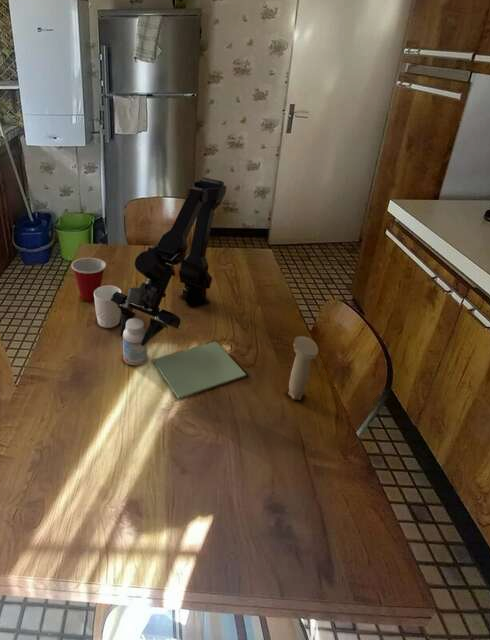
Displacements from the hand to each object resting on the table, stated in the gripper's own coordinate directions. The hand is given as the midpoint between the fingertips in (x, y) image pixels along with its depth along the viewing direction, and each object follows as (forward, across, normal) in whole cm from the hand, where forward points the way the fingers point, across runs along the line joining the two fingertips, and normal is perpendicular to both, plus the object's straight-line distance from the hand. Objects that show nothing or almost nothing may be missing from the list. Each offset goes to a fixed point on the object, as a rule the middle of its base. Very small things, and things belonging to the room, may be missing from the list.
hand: (131, 341), depth 110 cm
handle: (-4, +39, +13) cm, 41 cm away
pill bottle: (+4, 0, +6) cm, 7 cm away
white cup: (-2, -16, +12) cm, 20 cm away
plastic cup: (-8, -29, +17) cm, 34 cm away
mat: (0, +16, +10) cm, 19 cm away
